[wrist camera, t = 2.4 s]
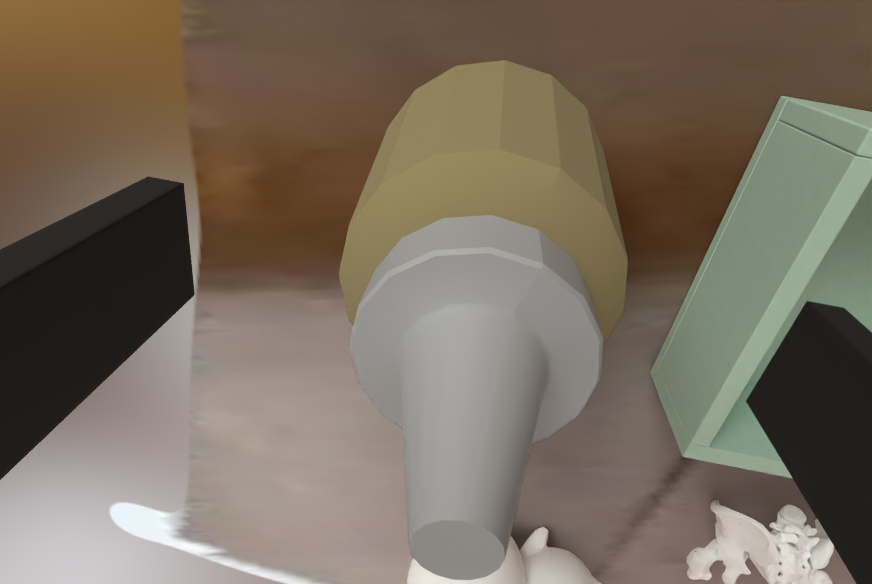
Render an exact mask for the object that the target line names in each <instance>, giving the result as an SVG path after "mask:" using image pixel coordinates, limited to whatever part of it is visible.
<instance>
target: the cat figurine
mask: <svg viewBox="0 0 872 584" xmlns="http://www.w3.org/2000/svg"><path fill="white" fill-rule="evenodd" d="M548 533H549V531H548V530H547V529H546V528H545V527H541V528H538V529H536V530H535V531H534V532H533V533H532V534H531V535H530V536H529V538H528V539H527V540H526V542H525V543H524V545H523V546H522V548H521V549H520V551H519V549H518V547H517V545H516V543H515V541H514V540H513V538H512V537H511V536H510V540H509V544H508V549H507V553H506V557H505V560H504V562H503V563H502V565H501V567H500V568H499V570H497V571H495V572H494V573H492V574H490V575H489V576H487V577H483V578H478V579H474V580H454V579H449V578H445V577H442V576H438V575H435V574H433V573H431V572H430V571H428V570H426V569H425V568H423V567H421V566H420V565H419V564H418V563H417V561H416V560H415V559H414V558H413V560H412V562H411V565H410V568H409V572H408V578H407V584H603V583H601V582H599V581H597V580H596V579H595V578H594V577H593V576H592V574H591V573H590V572H589V570H588V569H587V567H586V566H585V565H584V563H583V562H582V561H581V560H580V559H579V558H578V557H577V556H575V555H574V554H573V553H571V552H569V551H567V550H565V549H560V548H554V547H547V540H548Z"/></svg>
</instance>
